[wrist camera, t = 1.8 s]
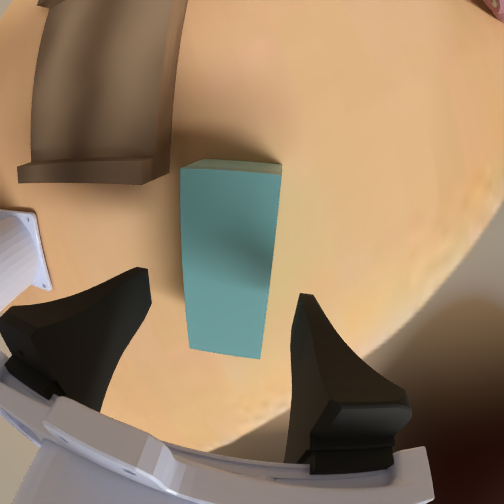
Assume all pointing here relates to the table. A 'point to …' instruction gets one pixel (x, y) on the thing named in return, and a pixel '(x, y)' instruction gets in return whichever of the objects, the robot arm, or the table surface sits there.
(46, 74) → the display stand
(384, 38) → the table surface
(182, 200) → the teal rectangular block
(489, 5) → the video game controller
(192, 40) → the table surface
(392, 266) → the table surface
